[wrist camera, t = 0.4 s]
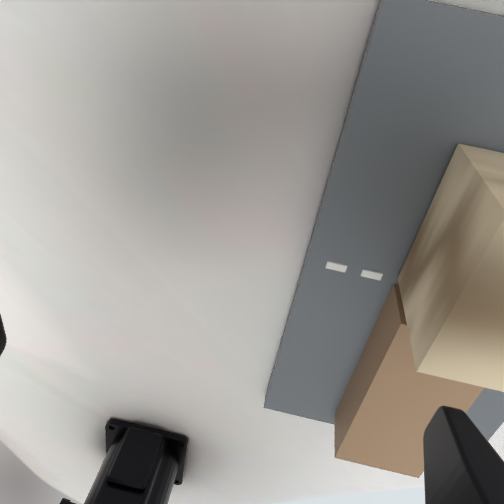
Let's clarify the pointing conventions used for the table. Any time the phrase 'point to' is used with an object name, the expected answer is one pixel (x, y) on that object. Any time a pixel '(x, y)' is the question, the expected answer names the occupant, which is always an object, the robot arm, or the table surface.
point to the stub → (460, 274)
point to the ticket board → (389, 235)
